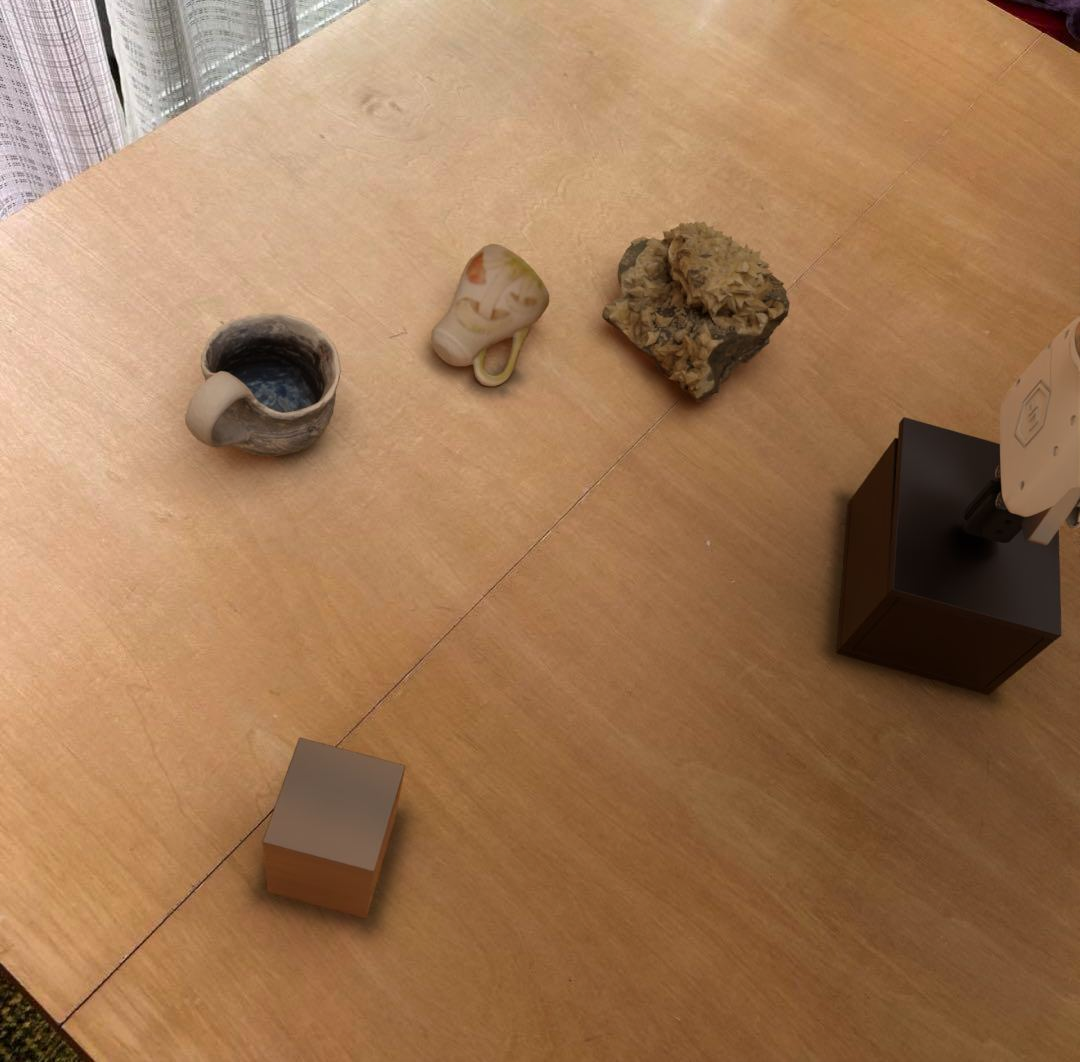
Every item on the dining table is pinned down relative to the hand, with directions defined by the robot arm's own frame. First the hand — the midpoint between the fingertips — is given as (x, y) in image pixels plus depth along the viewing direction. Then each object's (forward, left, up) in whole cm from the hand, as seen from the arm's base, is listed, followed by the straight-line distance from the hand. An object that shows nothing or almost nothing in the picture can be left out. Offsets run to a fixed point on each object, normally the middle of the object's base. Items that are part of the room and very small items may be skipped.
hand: (984, 528), depth 78 cm
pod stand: (-29, +36, -11) cm, 48 cm away
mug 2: (+14, +37, -11) cm, 41 cm away
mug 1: (-1, +50, -11) cm, 51 cm away
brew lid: (+1, 0, -1) cm, 2 cm away
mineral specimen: (+20, +22, -11) cm, 31 cm away
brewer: (+1, 0, -11) cm, 11 cm away
